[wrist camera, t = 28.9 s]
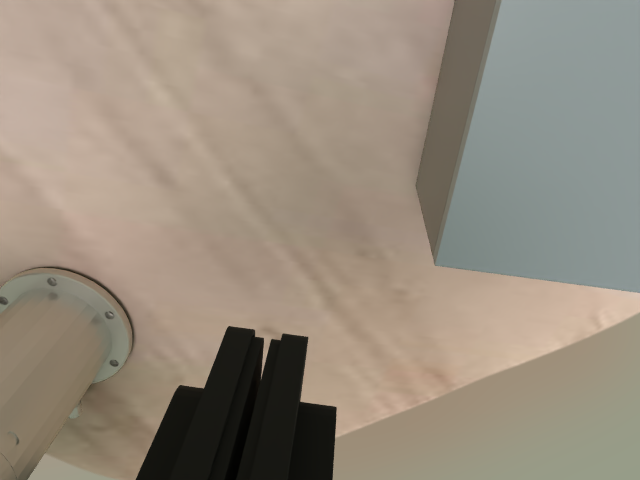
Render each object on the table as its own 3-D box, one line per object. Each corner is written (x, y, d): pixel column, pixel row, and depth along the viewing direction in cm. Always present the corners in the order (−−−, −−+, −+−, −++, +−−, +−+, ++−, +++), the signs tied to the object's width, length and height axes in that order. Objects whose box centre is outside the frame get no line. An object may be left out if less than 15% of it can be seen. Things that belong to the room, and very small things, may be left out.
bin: (586, 208, 39) (660, 286, 29) (415, 185, 39) (432, 256, 30) (678, -29, 32) (817, -29, 22) (466, -56, 32) (512, -67, 22)
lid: (660, 287, 29) (669, 296, 29) (432, 256, 30) (434, 265, 29) (817, -28, 22) (837, -29, 21) (512, -67, 22) (519, -68, 21)
